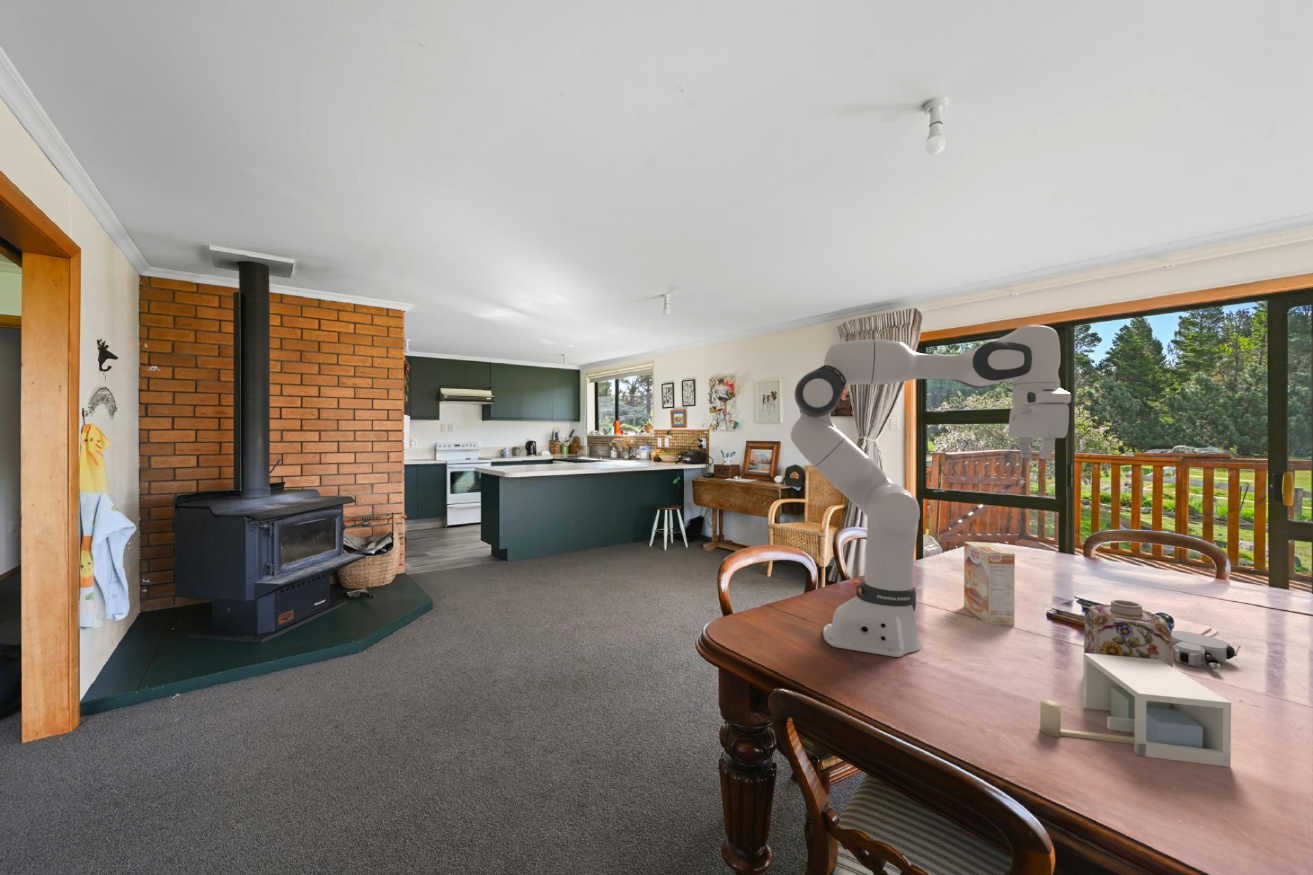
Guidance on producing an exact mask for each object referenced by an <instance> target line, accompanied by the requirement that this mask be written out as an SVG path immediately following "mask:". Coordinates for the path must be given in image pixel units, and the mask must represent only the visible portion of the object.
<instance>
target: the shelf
mask: <svg viewBox="0 0 1313 875" xmlns="http://www.w3.org/2000/svg"><path fill="white" fill-rule="evenodd" d="M1082 675H1083V680H1082V681H1083V685H1082V686H1083V687H1082V688H1083V690H1082V691H1083V692H1082V693H1083V695H1082V697H1083V698H1082V700H1083V701H1082V707H1084V708H1085V709H1088V710H1089V709H1090V710H1098V711H1099V710H1100V711H1107V712H1111V687H1119V688H1124V689H1125V690H1127V691H1128V692H1129V693H1131V694H1132V695H1133V696H1135V719H1130V718H1121V717H1115V716H1109V715H1107V718H1106V728H1107V729H1108V730H1109V731H1115V732H1116V731H1118V732H1124V733H1125V732H1127V733H1134V737H1135V742H1134V744H1133V745H1134V750H1133V751H1134V753H1135V754H1136V755H1137V756H1139V757H1146V758H1153V759H1161V760H1170V761H1176V762H1177V761H1178V762H1185V763H1193V764H1202V765H1211V766H1219V767H1228V768H1231V764H1232V763H1231V761H1232V760H1231V757H1232V755H1231V754H1232V752H1231V751H1232V744H1231V743H1232V702H1231V701H1229V700H1227V699H1225V698H1224V697H1222V696H1221V695H1220V694H1218V693H1216V692H1214V691H1213V690H1211V689H1209V688H1207V687H1206V686H1205V685H1203V684H1201V683H1199V682H1198V681H1196V680H1194V679H1192V678H1191V677H1189V676H1188V675H1186V674H1184V673H1183V672H1181V671H1179V670H1178V669H1177V668H1174V666H1173V667H1171V666H1169V665H1168V664H1166V663H1164V662H1163V661H1161V660H1159V659H1147V658H1135V657H1124V656H1112V655H1100V654H1089V653H1084V652H1083V674H1082ZM1146 701H1156V702H1166V703H1168V704H1169V710H1176V711H1181V712H1182V713H1184V714H1185V715H1186V716H1188V717H1189V718H1191V719H1192V720H1194V721H1195V722H1196V723H1198V724H1199V725H1201V726H1202V727H1203V748H1195V747H1186V746H1177V745H1169V744H1160V743H1152V742H1146Z"/></svg>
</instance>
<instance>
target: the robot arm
mask: <svg viewBox="0 0 1313 875" xmlns="http://www.w3.org/2000/svg"><path fill="white" fill-rule="evenodd" d="M1061 359H1062V358H1061V343H1060V337H1059V335H1058V332H1057V330H1056V329H1054V328H1052V327H1050V326H1046V325H1041V324H1028V325H1022V326H1019V327H1017V328H1016V329H1015V330H1013V331H1012V332H1010V333H1008V334H1006V335H1004V336H1002V337H999V338H997V339H994V340H989V341H987V342H984V343H982V344H981V345H978V346H977V347H976V348H973V349H970V350H968V351H964V352H962V353H958V354H940V353H939V354H935V353H934V354H933V353H932V354H931V353H920V352H918V351H915V350H913V349H911V347H909V346H908V345H907V344H906V343H904V342H902V341H899V340H892V339H884V338H882V339H881V338H880V339H878V338H876V339H870V338H869V339H856V340H855V339H854V340H849V341H842V342H837V343H834V344H833V345H831V346H830V347H829V348H828V349H827V352H826V353H825V355H824V363H823V365H822V366H821V367H818V368H816V369H814V370H813V371H810V372H809V373H807V374H805V375H804V376H803V377H802V378H800V380H798V382H797V384H796V386H795V389H794V399H795V403H796V406H797V407H798V410H799V413H800V416H799V419H797V421H796V422H794V424H793V426H792V428H791V431H790V440H791V441H792V442H793V445H795V446H794V447H795V448H797V450H799V452H800V453H801V455H802V456H804V458H805V459H806V460H807V461H808V462H809V463H810V464H811V465H812V466H813V467H814V468H815V469H816V470H817V471H818V472H819V473H820V474H822V476H823V477H824V478H826V479H827V481H829V482H830V484H832V485H833V486H834V487H835V488H836V489H837V490H838V491H839V492H840V493H841V494H842V495H843V496H845V498H847V499H848V500H849V501H850V502H851V503H852V504H854V506H855V507H857V508H858V510H859V511H861V512H862V513H863V514H864V515H865V516H866V517H867V532H866V544H865V550H864V581H862V582H861V581H860V580H858V579H854V580H853V581H852V587H853V589H855V591H856V592H855V596H854V597H852V598H851V599H849V600H848V601H846V602H845V603H843V604H841V605H839V606H838V607H837V608H836V609H835V611H834V613H833V617H832V621H831V622H832V623H827V624H826V625H825V626H824V627H823V629H822V630H823V631H822V636H823V639H824V641H825V642H826V643H827V644H829V645H830V646H832V647H833V648H838V649H843V650H851V651H857V652H863V653H870V654H876V655H881V656H888V657H895V658H900V657H903V656H904V655H906V654H910V653H914V652H917V651H919V650H920V649H921V648H922V644H921V642H920V638H919V634H918V630H917V629H918V628H917V624H916V615H915V611H916V607H917V592H916V587H915V586H914V583H915V582H914V580H915V578H914V576H915V575H914V573H915V572H914V569H915V566H914V565H915V564H914V563H915V560H914V559H915V550H916V549H915V548H916V544H917V537H918V531H919V521H920V518H921V509H920V505H919V503H918V500H917V498H916V497H915V495H914V494H912V493H911V492H910V491H909V490H907V489H905V488H903V487H902V486H900V485H899V484H897V483H896V481H894V480H893V479H892V478H891V477H890V476H889V475H888V474H887V473H886V472H885V471H883V469H882V468H881V467H880V466H879V465H877V463H876V462H874V460H873V459H872V458H871V457H870V456H869V455H867V453H865V452H864V451H863V450H862V449H861V448H860V447H859V446H858V445H857V444H856V443H855V442H853V441H852V440H851V439H850V438H849V437H848V436H847V435H846V434H844V433H843V432H842V431H841V430H840V429H839V428H838V427H837V426H836V424H835V423H833V421H832V417H831V413H832V412H833V411H834V410H835V409H836V408H837V406H838V405H839V403H840V401H841V398H842V395H843V393H844V390H845V388H847V387H849V386H854V385H877V386H878V385H891V384H897V383H903V382H908V381H913V380H939V381H940V380H941V381H943V380H944V381H955V382H957V383H961V384H962V385H965V386H967V387H969V388H974V389H985V388H989V387H991V386H992V385H994V384H998V383H1001V382H1005V381H1010V382H1012V394H1011V395H1012V404H1011V405H1012V406H1013V407H1011V409H1010V412H1009V420H1008V435H1009V437H1010V438H1016V440H1017V445H1018V448H1019V457H1021V458H1031V457H1032V449H1030V448H1031V447H1030V443H1031V439H1032V438H1033V439H1034V438H1035V439H1036V438H1037V439H1039V438H1040V443H1041V447H1040V450H1039V451H1038V458H1039V459H1041V460H1051V459H1052V455H1053V454H1052V451H1053V449H1054V446H1055V444H1056V439H1065V437H1066V436H1067V434H1068V430H1069V422H1070V418H1069V417H1070V407H1069V405H1068V404H1070V403H1071V401H1072V394H1071V393H1070V392H1068V391H1067V390H1064V389H1063V388H1061V380H1060V377H1059V369H1060V366H1061V361H1062V360H1061Z"/></svg>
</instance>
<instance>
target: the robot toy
mask: <svg viewBox="0 0 1313 875" xmlns="http://www.w3.org/2000/svg"><path fill="white" fill-rule="evenodd" d="M1168 630H1169V632H1170V633H1171V637H1172V640H1173V659H1175V661H1177V662H1178V663H1181V664H1185V665H1188V666H1193V667H1197V668H1198V667H1201V666H1203V665H1204V664H1206V666H1207V667H1209V668H1211V669H1221V668H1222V666H1221V664H1220V662H1222V661H1223V662H1224V661H1226V660H1231V659H1232V658H1234V657H1237V656H1238V653H1239V650H1240V648H1241V644H1238V645H1237V649H1236V650H1235V648H1234V647H1233V646H1231V645H1230V643H1229V642H1227V641H1225V640H1223V639H1220V638H1216V637H1212V636H1210V635H1206V634H1201V633H1196V632H1190V631H1184V630H1173V631H1170V628H1168Z"/></svg>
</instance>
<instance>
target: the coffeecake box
mask: <svg viewBox="0 0 1313 875" xmlns="http://www.w3.org/2000/svg"><path fill="white" fill-rule="evenodd" d="M963 543H964V544H963V546H964V548H963V550H964V553H963V558H964V559H963V561H964V562H963V567H964V568H963V569H964V570H963V571H964V572H963V576H964V577H963V578H964V579H963V580H964V581H963V582H964V583H963V588H964V589H963V602H964V603H963V607H964V608H965V609H967V610H968V611H969V612H971V614H974V615H975V616H976V618H979V619H980V620H981V621H983V622H984V623H986V624H987V625H992V626H993V625H995V626H997V625H998V626H1013V627H1014V626H1015V596H1016V595H1015V592H1016V591H1015V590H1016V589H1015V585H1016V584H1015V583H1016V582H1015V581H1016V580H1015V579H1016V577H1015V576H1016V575H1015V574H1016V573H1015V569H1016V568H1015V567H1016V562H1015V561H1016V554H1015V553H1014V552H1011V551H1008V550H1006V549H1003V548H1002V547H1000V546H998V545H997V546H996V545H995V544H992V543H989V542H979V541H964V542H963Z"/></svg>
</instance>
